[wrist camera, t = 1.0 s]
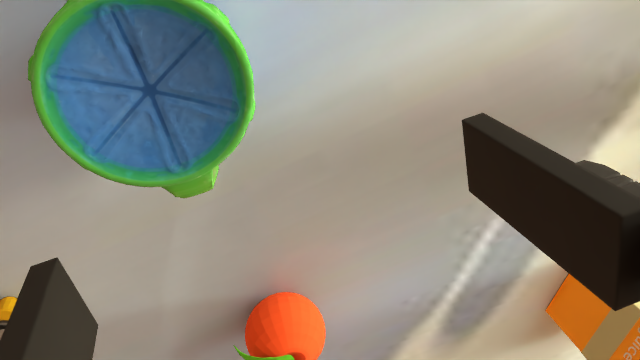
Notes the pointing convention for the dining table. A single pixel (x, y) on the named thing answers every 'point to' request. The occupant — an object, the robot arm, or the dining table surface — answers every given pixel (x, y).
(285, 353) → the clementine
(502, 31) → the dining table surface
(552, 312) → the orange juice
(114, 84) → the snack cup
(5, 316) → the yellow walkie talkie
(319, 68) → the dining table surface
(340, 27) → the dining table surface
